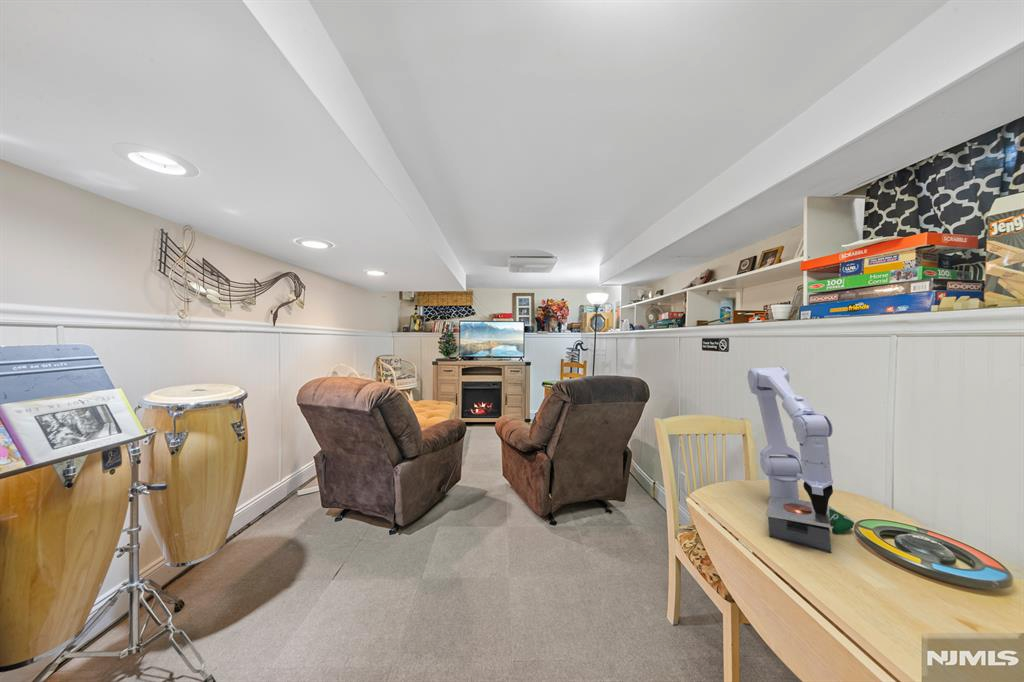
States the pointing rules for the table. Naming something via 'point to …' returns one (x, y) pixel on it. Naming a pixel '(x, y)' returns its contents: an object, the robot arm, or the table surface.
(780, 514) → the lid
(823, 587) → the table surface
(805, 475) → the robot arm
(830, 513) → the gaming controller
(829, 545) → the storage bin
